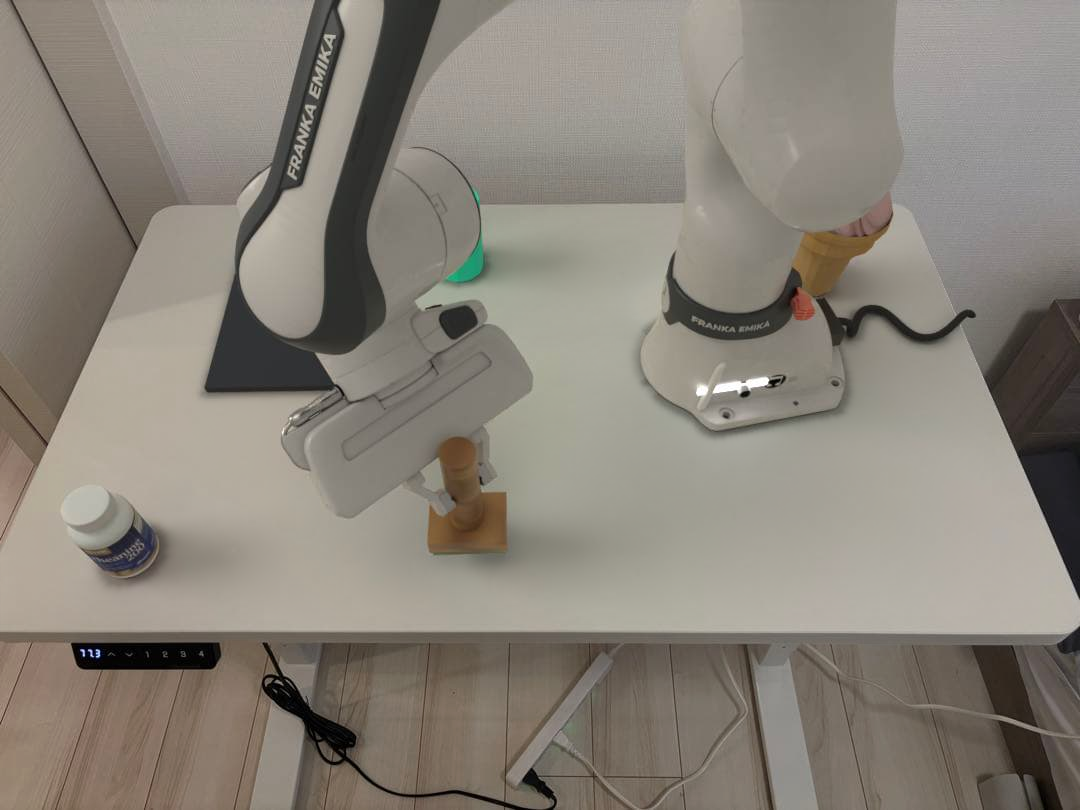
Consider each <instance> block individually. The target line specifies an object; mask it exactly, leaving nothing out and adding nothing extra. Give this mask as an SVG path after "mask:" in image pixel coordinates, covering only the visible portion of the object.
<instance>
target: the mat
mask: <svg viewBox="0 0 1080 810" xmlns="http://www.w3.org/2000/svg"><path fill="white" fill-rule="evenodd" d="M231 283H232V284H231V288H230V291H229V295H228V299H227V303H226V306H225V309H224V313H223V316H222V321H221V326H220V328H219V331H218V336H217V340H216V344H215V347H214V351H213V355H212V358H211V362H210V366H209V369H208V372H207V377H206V381H205V384H204V390H205V392H207V393H226V392H228V393H229V392H231V393H233V392H283V391H284V392H285V391H287V392H288V391H289V392H291V391H328V390H329V389H331V388H333V387H334V386H335V384H334V382H333V381H332V379H331V377H330V376H329V374H328V373H327V371H326V370H325V368H324V367H323V365H322V363H321V362H320V360H319V359H318V357H317V356H316V354H315V352H311V351H307V350H303V349H300V348H297V347H294V346H292V345H290V344H287V343H285V342H283V341H281V340H279V339H278V338H276V337H274V336H273V335H271V334H270V333H268V332H267V331H266V330H265V329H263V328H262V327H261V326H260V325H259V324H258V323H257V322H256V320H255V319H254V318H253V317H252V315H251V314H250V312H249V311H248V309H247V308H246V306H245V304H244V302H243V300H242V297H241V295H240V292H239V289H238V285H237V279H236V272H235V271H234V277H233V280H232V282H231Z"/></svg>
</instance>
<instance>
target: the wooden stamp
mask: <svg viewBox="0 0 1080 810" xmlns="http://www.w3.org/2000/svg"><path fill="white" fill-rule="evenodd" d="M438 456H439V457H438V459H439V460H438V461H439V467H440V471H441V477H442V482H443V486H444V489H446V490H448V492H449V493H450V495H451V496H452V499H451V500H453V501H455V503H456V505H457V506H456V507H455V508H454V509H453V510H451V511H450V512H449V513H448V514H446V515H445V516H443V517H442V516H440V515H438V514H437V513H436V512H435V511H434V509H433V507H432V506H431V504H430V503H429V505H428V506H429V507H428V525H427V539H426V540H427V541H426V542H427V543H426V544H427V547H428V552H429V553H432V556H452V555H453V556H455V555H493V554H494V555H495V554H506V551H508V500H507V499H508V497H507V492H506V491H489V492H487V491H486V492H483V491H482V485H480V477H479V469H478V461H477V452H476V447H475V445H474V444H473V443H472V442H471V441H470V440H469V439H467V438H464V437H452V438H450V439H448V440H446V441H445V442H444V443H443V444H442V445H441V446H440V448H439V451H438Z"/></svg>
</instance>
